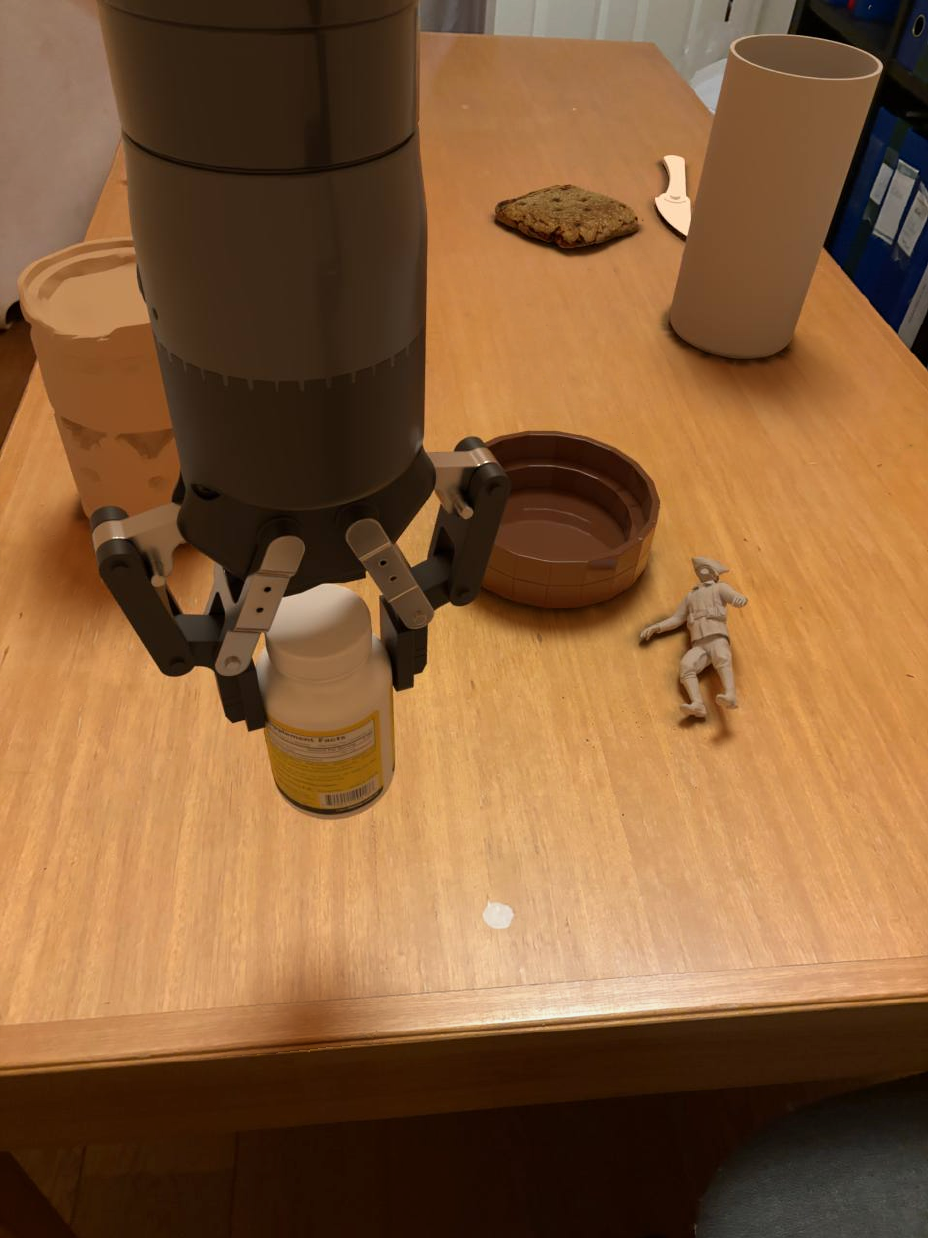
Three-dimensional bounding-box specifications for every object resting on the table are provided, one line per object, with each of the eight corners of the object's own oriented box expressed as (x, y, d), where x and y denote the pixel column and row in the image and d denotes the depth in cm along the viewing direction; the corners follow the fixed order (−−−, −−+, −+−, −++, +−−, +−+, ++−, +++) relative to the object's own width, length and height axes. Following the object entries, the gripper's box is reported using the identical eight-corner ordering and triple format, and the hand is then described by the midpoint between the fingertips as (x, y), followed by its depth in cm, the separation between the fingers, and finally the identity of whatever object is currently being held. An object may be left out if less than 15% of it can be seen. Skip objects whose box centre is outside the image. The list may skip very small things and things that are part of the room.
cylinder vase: (652, 341, 93) (713, 60, 75) (686, 290, 101) (749, 25, 83) (776, 375, 90) (870, 90, 72) (801, 319, 98) (892, 50, 80)
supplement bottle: (315, 707, 44) (297, 552, 37) (416, 751, 42) (418, 597, 35) (247, 793, 40) (214, 640, 33) (355, 844, 39) (344, 694, 32)
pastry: (645, 259, 106) (651, 233, 104) (494, 250, 106) (496, 224, 103) (630, 197, 118) (634, 173, 116) (494, 189, 118) (495, 165, 115)
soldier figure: (639, 721, 61) (629, 560, 66) (679, 739, 64) (666, 584, 69) (748, 693, 56) (727, 522, 61) (785, 714, 59) (763, 550, 64)
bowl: (683, 586, 68) (699, 534, 65) (494, 635, 64) (500, 583, 60) (590, 466, 78) (599, 416, 74) (419, 502, 74) (420, 450, 70)
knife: (654, 158, 127) (656, 150, 127) (687, 162, 127) (688, 154, 126) (653, 239, 109) (655, 230, 109) (690, 243, 109) (692, 234, 108)
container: (177, 575, 67) (123, 349, 54) (49, 515, 70) (-31, 289, 57) (284, 484, 74) (260, 267, 61) (163, 434, 78) (116, 220, 65)
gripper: (19, 417, 21) (160, 823, 33) (584, 325, 25) (526, 715, 37) (1, 272, 26) (130, 673, 38) (479, 214, 30) (457, 592, 42)
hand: (326, 692), depth 37 cm, fingers closed on supplement bottle, 5 cm apart
